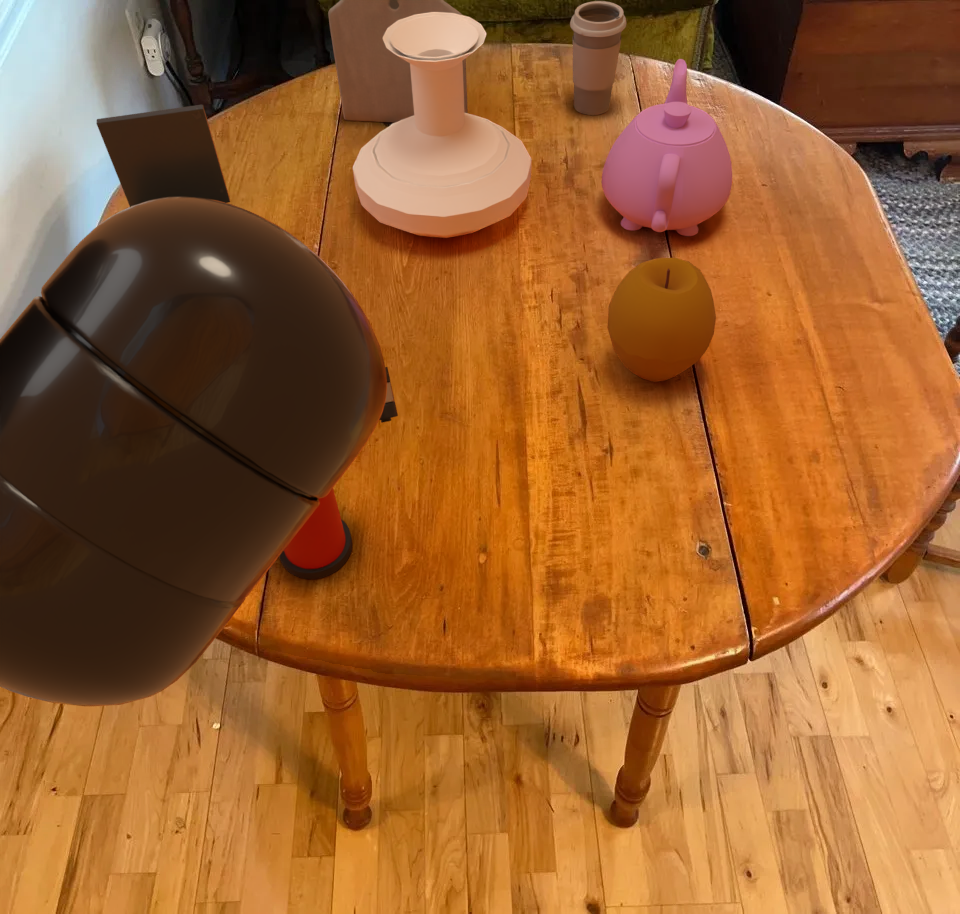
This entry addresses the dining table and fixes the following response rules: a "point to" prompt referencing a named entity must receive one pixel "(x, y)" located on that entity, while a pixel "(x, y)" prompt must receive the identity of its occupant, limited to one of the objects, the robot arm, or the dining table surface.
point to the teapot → (669, 165)
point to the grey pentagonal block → (376, 58)
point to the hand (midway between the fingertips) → (265, 416)
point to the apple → (661, 318)
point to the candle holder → (440, 141)
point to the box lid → (164, 155)
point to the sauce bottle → (318, 537)
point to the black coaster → (323, 570)
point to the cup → (595, 54)
